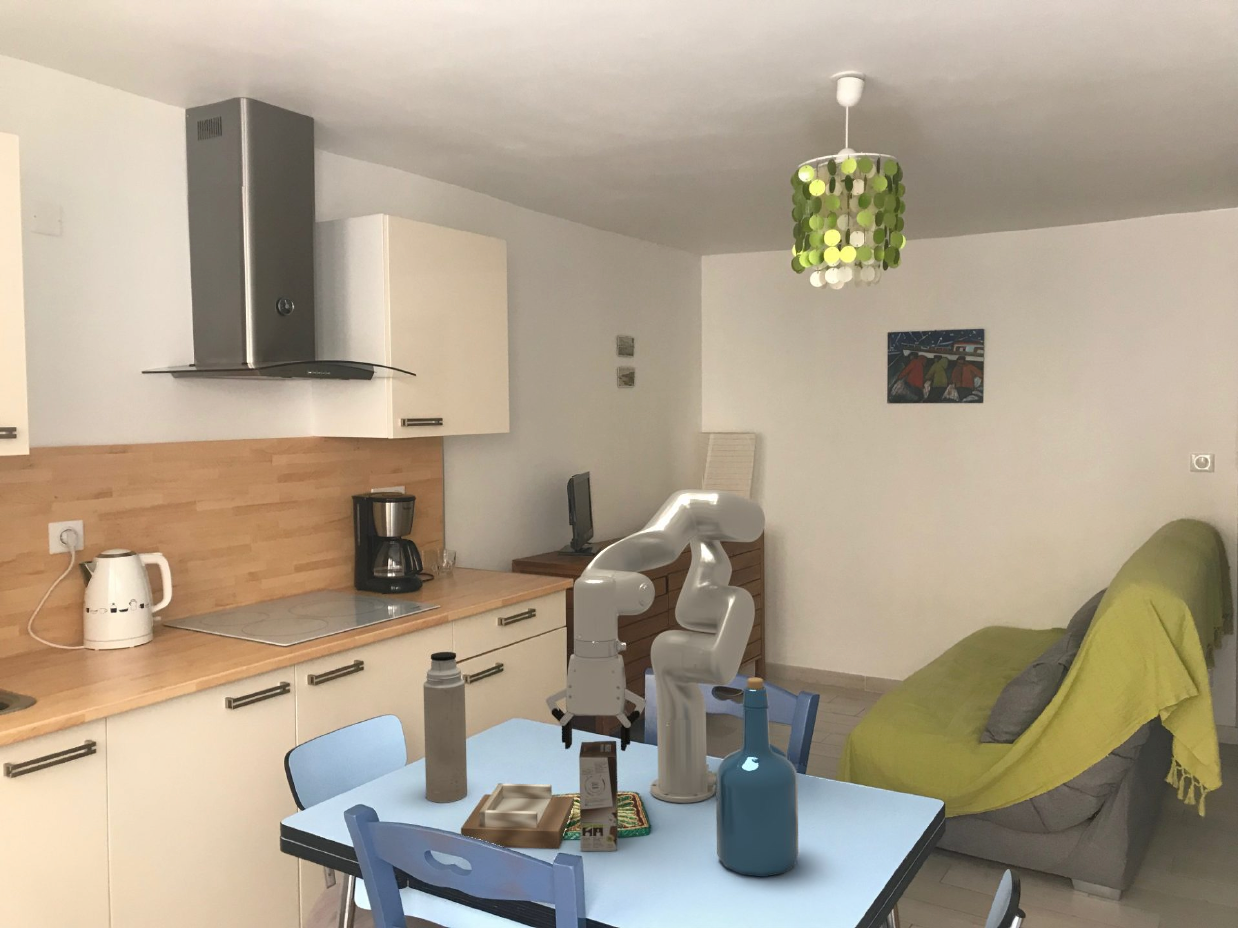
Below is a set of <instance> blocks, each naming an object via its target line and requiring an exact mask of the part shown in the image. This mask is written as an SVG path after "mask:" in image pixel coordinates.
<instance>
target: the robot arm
mask: <svg viewBox="0 0 1238 928" xmlns="http://www.w3.org/2000/svg"><path fill="white" fill-rule="evenodd" d="M765 527H766V518H765V513H764V510H763V508H762V506H761V505H760V504H759V503H758V502H757V501H755V500H753V499H752V498H748V497H745V496H741V495H739V494H736V493H733V492H729V491H725V490H719V489H689V488H688V489H680V490H677V491H675V492H673V493H672V494H671V495H670V496H669V497H668V498H667V499H666V501H665V502H664V503H663V504H662V505H661V507H660V508H659V509H658V510H657V512H656V513H655V514H654V515H653V517H651V519H649V521H648V522H647V523H646V524H645V526H644V527H643V528H642V529H641V530H639V531H637V532H635V533H632V534H629V535H627V536H626V537H624V538H622V539H620V540H618V541H616V542H614V543H612V544H610V545H609V546H607V547H605V548H603V549H602V550H601V551H600V552H598V554H597V555H595V557H593V559H592V560H591V561H590V563H589V564H588V565H587V566H586V567H585V569H584V570H583V571H582V573H581V575H580V577H578V578H577V579H575V582H574V585H573V654H571V655H570V658H569V662H568V668H567V678H566V687H565V688H563V689H561V690H559V691H557V692H555V693H553V694H552V695H549V696H548V697H547V698H546V699H545V703H546V705H547V707H548V708H549V711H550V713H551V716H553V718H554V719H556V720H557V722H558V723H559V725H560V726H561V743H563V744H564V749H565V750H569V749H571V747H572V745H573V722H572V721H571V719H572V718H573V717H574V716H580V717H581V716H584V717H585V716H586V717H616V718H617V719H618V720H619V721H620V723H621V724H622V725H621V727H620V751H622V752H625V751H626V749H627V747H628V746H630V745H631V726H632V725H633V724H634V723H635V722H636V721H637V720H638V719H639V718H640V716H641V714H642V712H643V710H644V709H645V707H646V705H647V700H646V699H645V698H644V697H641V696H640V695H638V694H636V693H634V692H632V691H630V690H629V689H627V684H626V681H627V680H626V671H625V663H624V658H623V655H622V654H618V653H620V652H622V651H627V643H626V641H623V642H622V641H620V639H619V637H618V635H619V634H618V632H619V631H618V627H619V626H618V619H619V616H635V615H640V614H643V613H644V612H646V611H647V610H648V609H650V607H651V606H652V605H653V603H654V600H655V596H656V595H655V594H656V591H655V586H654V583H653V582H652V580H651V579H650V578H649V577H648V576H646V575H645V574H643V573H640V572H644V571H650V570H654V569H657V568H660V567H663V566H667V565H669V564H672V563H674V562H675V561H676V560H677V559H678V558H679V557H680V555H681V553H683V551H684V550H685V549H686V547H687V546H688V545H689V546H690V550H691V563H690V566H689V569H688V573H687V575H686V578H685V581H684V582H683V585H682V588H681V590H680V593H679V596H678V599H677V600H676V601H677V602H676V606H675V610H674V611H675V612H674V615H675V620H676V622H677V623H678V624H679V625H680V627H682V628H685V629H687V630H680V629H673V630H672V629H671V630H666V631H663V632H661V633H660V634H658V635H657V636H656V637H655V639H653V642H652V644H651V647H650V662H651V667H652V671H653V677H654V681H655V683H654V684H655V691H656V692H655V693H656V722H657V724H656V726H657V727H656V728H657V731H656V732H657V779H655V780H653V781H652V782H651V784H650V790H649V791H650V793H651V795H652V796H653V797H655V798H656V799H658V800H661V801H665V802H669V803H679V804H682V803H683V804H684V803H686V804H688V803H689V804H690V803H696V802H702V801H705V800H708V799H710V798H711V797H712V796H713V795H714V794H716V773H717V772H713V771H712V770H709V764H707V717H706V716H707V714H706V713H707V710H706V708H707V707H706V699H705V695H704V693H703V690H702V689H701V686H700V685H699V684H701V685H707V686H715V687H724V686H726V685H729V684H730V683H732V681H734V680H735V677H736V676H737V674H738V671H739V668H740V666H741V663H742V660H743V657H744V653H745V651H746V649H747V645H748V642H749V638H750V636H751V632H752V630H753V626H754V621H755V613H756V609H755V607H756V606H755V601H754V598H753V597H752V594H751V593H750V591H748V590H747V589H745V588H743V587H741V586H734V585H729V583H730V579H731V576H732V572H733V568H732V564H731V561H730V559H729V558H730V557H729V555H728V554H727V553H726V551H725V549H724V548H723V546H722V544H721V542H734V543H735V542H737V543H738V542H739V543H752V542H755V541H756V540H758V539H759V538H760V537H761V536H762V534H763V532H764V529H765ZM703 632H704V633H703ZM562 699H565V708H566V712H564V711H563V710H562V709H561V708H560V707H559V706H558V703H557V702H559V701H561V700H562ZM627 701H629V702H631V703H632V704H635V709H634V710H633V711H632V712H630V714H629V713H628V711H626V707H627Z"/></svg>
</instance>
